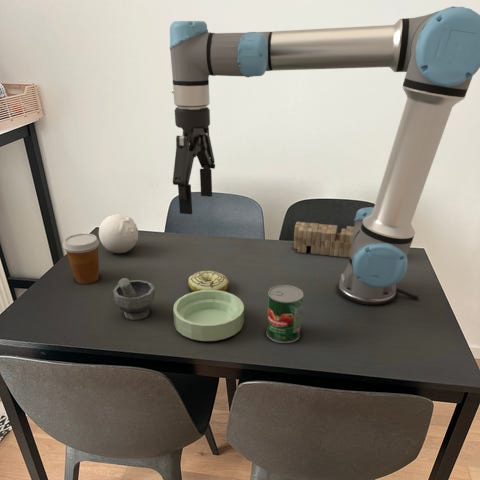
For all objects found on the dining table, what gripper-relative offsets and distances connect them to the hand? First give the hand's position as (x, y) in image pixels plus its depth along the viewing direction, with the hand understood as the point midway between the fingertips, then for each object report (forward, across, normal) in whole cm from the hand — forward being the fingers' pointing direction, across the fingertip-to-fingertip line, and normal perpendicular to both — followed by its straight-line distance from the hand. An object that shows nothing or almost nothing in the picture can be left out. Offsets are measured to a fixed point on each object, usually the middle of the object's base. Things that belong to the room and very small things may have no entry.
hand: (196, 204), depth 110 cm
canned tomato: (+26, +11, +24) cm, 37 cm away
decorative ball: (+25, -21, -35) cm, 48 cm away
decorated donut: (+26, -5, 0) cm, 26 cm away
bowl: (+25, +12, +6) cm, 29 cm away
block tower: (+26, -42, +32) cm, 58 cm away
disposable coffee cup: (+25, -1, -35) cm, 43 cm away
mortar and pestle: (+25, +13, -13) cm, 31 cm away
